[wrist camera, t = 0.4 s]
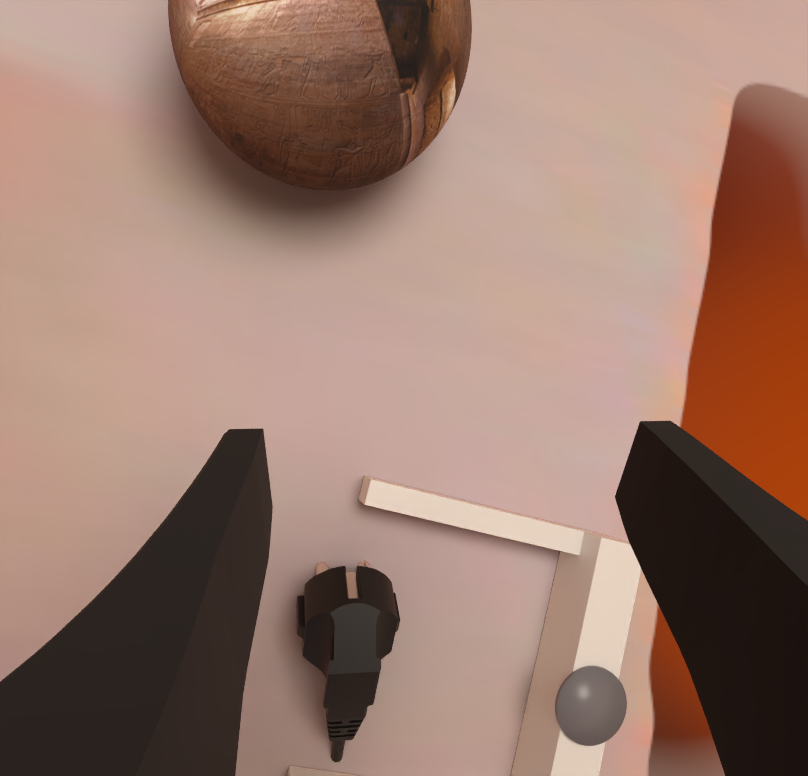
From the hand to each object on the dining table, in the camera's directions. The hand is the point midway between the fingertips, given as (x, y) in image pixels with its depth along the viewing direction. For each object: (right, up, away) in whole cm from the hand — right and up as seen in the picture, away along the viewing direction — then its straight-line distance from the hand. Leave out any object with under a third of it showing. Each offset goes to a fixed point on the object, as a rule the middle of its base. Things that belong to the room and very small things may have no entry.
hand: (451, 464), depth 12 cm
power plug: (-5, -15, +26) cm, 30 cm away
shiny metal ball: (-7, +19, +27) cm, 34 cm away
